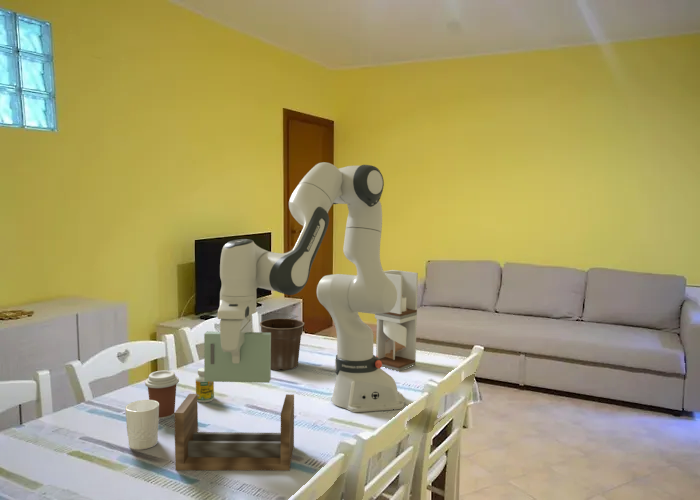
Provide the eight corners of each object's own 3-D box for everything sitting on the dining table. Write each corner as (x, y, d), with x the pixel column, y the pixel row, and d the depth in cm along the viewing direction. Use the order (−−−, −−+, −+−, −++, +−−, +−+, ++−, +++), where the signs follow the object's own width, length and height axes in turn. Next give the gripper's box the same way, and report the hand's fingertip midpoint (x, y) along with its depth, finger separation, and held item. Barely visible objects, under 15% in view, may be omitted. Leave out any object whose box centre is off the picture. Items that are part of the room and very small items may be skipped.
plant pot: (312, 363, 204) (313, 321, 202) (286, 375, 190) (286, 330, 188) (278, 356, 212) (278, 316, 210) (250, 367, 198) (250, 324, 197)
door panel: (270, 379, 137) (271, 332, 136) (268, 383, 134) (269, 335, 133) (207, 378, 137) (206, 331, 136) (204, 381, 134) (204, 334, 133)
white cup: (132, 437, 140) (131, 399, 139) (163, 436, 141) (162, 399, 140) (122, 451, 132) (120, 412, 131) (155, 450, 133) (154, 411, 132)
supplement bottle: (210, 395, 170) (210, 365, 169) (216, 400, 166) (216, 370, 165) (193, 398, 167) (193, 368, 166) (199, 404, 163) (198, 373, 162)
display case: (374, 364, 203) (375, 272, 200) (391, 358, 211) (393, 269, 208) (398, 371, 196) (401, 275, 192) (415, 365, 204) (417, 272, 200)
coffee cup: (141, 413, 156) (140, 372, 154) (173, 406, 161) (172, 367, 160) (151, 424, 148) (150, 381, 147) (184, 416, 154) (183, 375, 152)
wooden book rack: (293, 446, 136) (294, 394, 135) (289, 470, 124) (289, 413, 123) (190, 445, 136) (189, 393, 135) (175, 469, 124) (174, 412, 123)
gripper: (234, 297, 144) (234, 348, 145) (215, 313, 124) (215, 372, 125) (258, 298, 144) (257, 349, 145) (243, 313, 124) (242, 373, 125)
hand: (238, 360), depth 135 cm, fingers closed on door panel, 2 cm apart
